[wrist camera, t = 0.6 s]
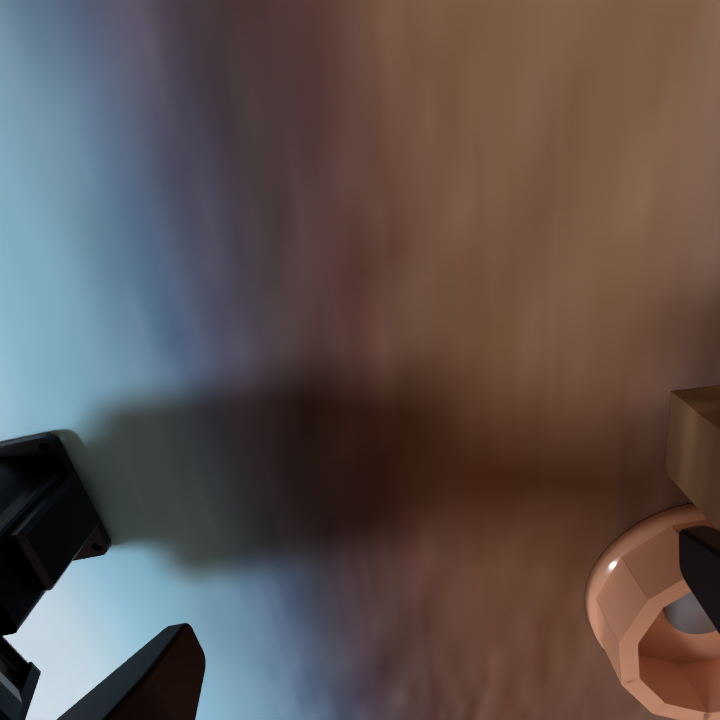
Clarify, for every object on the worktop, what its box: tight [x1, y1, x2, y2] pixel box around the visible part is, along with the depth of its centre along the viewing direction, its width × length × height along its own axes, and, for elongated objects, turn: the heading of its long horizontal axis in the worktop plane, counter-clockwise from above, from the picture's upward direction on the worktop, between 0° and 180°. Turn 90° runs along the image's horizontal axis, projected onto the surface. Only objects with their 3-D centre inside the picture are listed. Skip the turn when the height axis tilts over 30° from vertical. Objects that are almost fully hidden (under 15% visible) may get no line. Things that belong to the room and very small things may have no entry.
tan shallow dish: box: [585, 503, 720, 720], centre depth 24 cm, size 10×10×3 cm
